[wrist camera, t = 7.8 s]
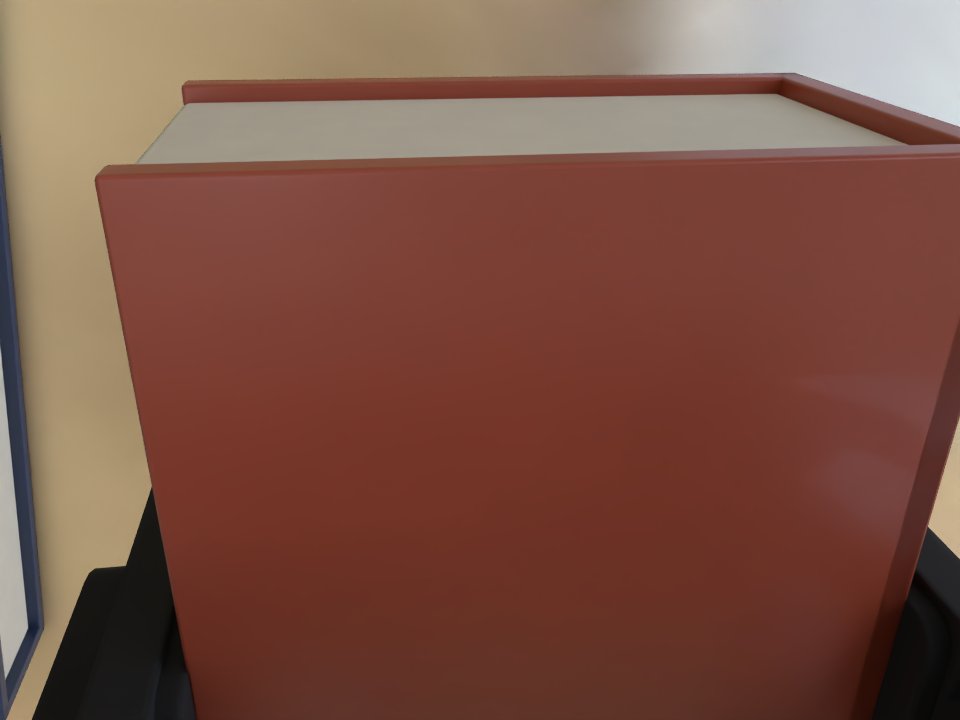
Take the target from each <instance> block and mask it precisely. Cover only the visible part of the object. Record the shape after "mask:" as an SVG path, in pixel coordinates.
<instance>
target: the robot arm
mask: <svg viewBox="0 0 960 720" xmlns="http://www.w3.org/2000/svg"><path fill="white" fill-rule="evenodd" d="M32 720H196V715H195V709H194V704H193V699H192V693H191V688H190V683H189V677H188V672H187V669H186V664H185V659H184V654H183V648H182V643H181V638H180V632H179V627H178V622H177V616H176V611H175V606H174V600H173V595H172V590H171V584H170V579H169V574H168V568H167V563H166V558H165V552H164V547H163V542H162V537H161V531H160V526H159V521H158V515H157V510H156V505H155V499H154V494H153V489H152V488H151V491H150V494H149V497H148V500H147V503H146V506H145V509H144V512H143V515H142V519H141V522H140V525H139V528H138V531H137V534H136V537H135V540H134V543H133V546H132V549H131V552H130V555H129V558H128V561H127V564H126V566H121V567H109V568H97V569H94V570H92V571H91V572H90V573H89V575H88V576H87V578H86V580H85V582H84V585H83V587H82V590H81V593H80V595H79V598H78V600H77V603H76V606H75V608H74V611H73V613H72V616H71V619H70V621H69V624H68V626H67V629H66V632H65V634H64V637H63V640H62V642H61V645H60V647H59V650H58V653H57V655H56V658H55V660H54V663H53V666H52V668H51V671H50V673H49V676H48V679H47V681H46V684H45V686H44V689H43V692H42V694H41V697H40V700H39V702H38V705H37V707H36V710H35V713H34V715H33V718H32ZM871 720H960V559H959V558H958V557H957V556H956V555H955V554H954V553H953V552H952V551H951V550H950V549H949V548H948V547H947V546H946V545H945V544H944V543H943V542H942V541H941V540H940V539H939V538H938V537H937V536H936V535H935V534H934V532H933V531H932V530H931V529H930V528H929V527H927V530H926V534H925V537H924V541H923V544H922V548H921V551H920V555H919V558H918V561H917V565H916V568H915V572H914V575H913V579H912V582H911V585H910V589H909V592H908V596H907V599H906V603H905V606H904V609H903V613H902V616H901V620H900V623H899V627H898V630H897V634H896V637H895V640H894V644H893V647H892V651H891V654H890V658H889V661H888V664H887V668H886V671H885V675H884V678H883V682H882V685H881V688H880V692H879V695H878V699H877V702H876V706H875V709H874V713H873V716H872V719H871Z"/></svg>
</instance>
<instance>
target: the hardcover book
mask: <svg viewBox="0 0 960 720" xmlns="http://www.w3.org/2000/svg"><path fill="white" fill-rule="evenodd" d="M43 630H44V622H43V611H42V600H41V588H40V577H39V566H38V555H37V543H36V532H35V521H34V510H33V498H32V487H31V476H30V464H29V453H28V442H27V431H26V419H25V408H24V397H23V386H22V374H21V363H20V352H19V341H18V329H17V318H16V307H15V295H14V284H13V273H12V262H11V250H10V239H9V228H8V217H7V205H6V194H5V183H4V171H3V160H2V149H1V138H0V720H6V719H7V716H8V714H9V711H10V709H11V707H12V704H13V702H14V699H15V697H16V695H17V692H18V690H19V687H20V685H21V683H22V680H23V678H24V675H25V673H26V671H27V668H28V666H29V663H30V661H31V659H32V656H33V654H34V651H35V649H36V647H37V644H38V642H39V639H40V637H41V635H42V632H43Z"/></svg>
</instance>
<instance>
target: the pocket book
mask: <svg viewBox="0 0 960 720" xmlns="http://www.w3.org/2000/svg"><path fill="white" fill-rule="evenodd" d="M182 96H183V103H184V106H183V107H182V109H181V110H180V111H179V112H178V113H177V115H176V116H175V117H174V118H173V119H172V120H171V122H170V123H169V124H168V125H167V126H166V128H165V129H164V130H163V131H162V132H161V133H160V135H159V136H158V137H157V138H156V139H155V141H154V142H153V143H152V144H151V145H150V147H149V148H148V149H147V150H146V151H145V152H144V154H143V155H142V156H141V157H140V158H139V160H138V161H137V162H136V163H135V164H131V165H108V166H106V167H104V168H103V169H102V170H101V171H100V172H99V173H98V174H97V175H96V177H95V185H96V191H97V196H98V201H99V207H100V212H101V217H102V223H103V228H104V233H105V239H106V244H107V249H108V255H109V260H110V265H111V271H112V276H113V281H114V286H115V292H116V297H117V302H118V308H119V313H120V318H121V324H122V329H123V334H124V340H125V345H126V350H127V356H128V361H129V366H130V372H131V377H132V382H133V388H134V393H135V398H136V404H137V409H138V414H139V419H140V425H141V430H142V435H143V441H144V446H145V451H146V457H147V462H148V467H149V473H150V478H151V483H152V489H153V494H154V499H155V505H156V510H157V515H158V521H159V526H160V531H161V537H162V542H163V547H164V552H165V558H166V563H167V568H168V574H169V579H170V584H171V590H172V595H173V600H174V606H175V611H176V616H177V622H178V627H179V632H180V638H181V643H182V648H183V654H184V659H185V664H186V669H187V672H188V677H189V683H190V688H191V693H192V699H193V704H194V709H195V715H196V720H871V719H872V716H873V713H874V709H875V706H876V702H877V699H878V695H879V692H880V688H881V685H882V682H883V678H884V675H885V671H886V668H887V664H888V661H889V658H890V654H891V651H892V647H893V644H894V640H895V637H896V634H897V630H898V627H899V623H900V620H901V616H902V613H903V609H904V606H905V603H906V599H907V596H908V592H909V589H910V585H911V582H912V579H913V575H914V572H915V568H916V565H917V561H918V558H919V555H920V551H921V548H922V544H923V541H924V537H925V534H926V530H927V527H928V524H929V520H930V517H931V513H932V510H933V506H934V503H935V500H936V496H937V493H938V489H939V486H940V482H941V479H942V475H943V472H944V469H945V465H946V462H947V458H948V455H949V451H950V448H951V445H952V441H953V438H954V434H955V431H956V427H957V424H958V421H959V417H960V127H959V126H956V125H952V124H949V123H946V122H943V121H940V120H937V119H934V118H931V117H928V116H925V115H922V114H919V113H916V112H913V111H910V110H906V109H903V108H900V107H897V106H894V105H891V104H888V103H885V102H882V101H879V100H876V99H873V98H870V97H867V96H863V95H860V94H857V93H854V92H851V91H848V90H845V89H842V88H839V87H836V86H833V85H830V84H827V83H824V82H821V81H817V80H814V79H811V78H808V77H805V76H802V75H799V74H796V73H755V74H676V75H596V76H516V77H436V78H357V79H277V80H197V81H187V82H185V83H184V85H183V86H182Z"/></svg>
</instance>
